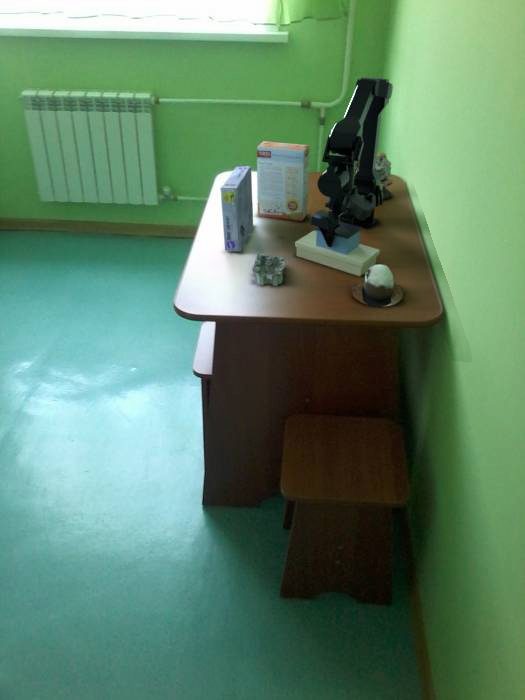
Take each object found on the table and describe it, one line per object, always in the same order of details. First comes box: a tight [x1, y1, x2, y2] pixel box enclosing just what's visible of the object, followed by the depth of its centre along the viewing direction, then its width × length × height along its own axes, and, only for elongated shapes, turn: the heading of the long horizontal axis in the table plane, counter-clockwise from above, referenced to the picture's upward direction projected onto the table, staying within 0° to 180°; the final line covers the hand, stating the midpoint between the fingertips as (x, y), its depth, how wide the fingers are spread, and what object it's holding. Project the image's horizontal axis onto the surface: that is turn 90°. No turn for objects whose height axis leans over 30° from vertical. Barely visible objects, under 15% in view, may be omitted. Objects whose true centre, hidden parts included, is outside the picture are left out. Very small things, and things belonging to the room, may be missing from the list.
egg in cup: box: [351, 263, 404, 308], centre depth 147 cm, size 12×10×10 cm
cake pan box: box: [220, 165, 254, 253], centre depth 168 cm, size 19×5×18 cm, turn 169°
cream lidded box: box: [294, 230, 381, 277], centre depth 161 cm, size 9×20×4 cm, turn 53°
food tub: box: [315, 220, 362, 255], centre depth 158 cm, size 7×9×5 cm
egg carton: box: [252, 252, 286, 287], centre depth 154 cm, size 11×8×4 cm
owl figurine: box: [354, 151, 393, 201], centre depth 195 cm, size 18×12×17 cm, turn 83°
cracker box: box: [256, 140, 310, 222], centre depth 180 cm, size 14×6×21 cm, turn 71°
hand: (337, 241), depth 159 cm, fingers open, 7 cm apart
